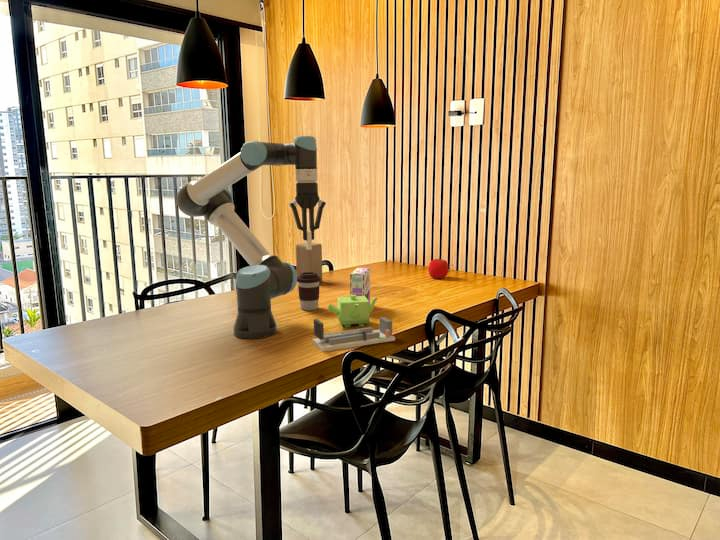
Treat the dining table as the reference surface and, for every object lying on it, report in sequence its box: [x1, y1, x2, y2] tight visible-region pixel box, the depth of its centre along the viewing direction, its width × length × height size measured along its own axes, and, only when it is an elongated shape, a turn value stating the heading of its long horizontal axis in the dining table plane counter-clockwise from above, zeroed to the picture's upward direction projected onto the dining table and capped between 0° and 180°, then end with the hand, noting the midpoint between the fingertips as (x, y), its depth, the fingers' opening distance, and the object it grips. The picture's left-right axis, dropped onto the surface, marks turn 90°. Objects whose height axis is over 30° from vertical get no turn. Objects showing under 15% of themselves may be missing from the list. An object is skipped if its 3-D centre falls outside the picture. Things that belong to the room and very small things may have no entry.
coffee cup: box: [297, 272, 322, 311], centre depth 215 cm, size 10×10×15 cm
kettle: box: [327, 295, 381, 328], centre depth 193 cm, size 15×14×11 cm
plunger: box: [313, 318, 366, 343], centre depth 170 cm, size 16×8×7 cm, turn 114°
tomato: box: [428, 258, 450, 280], centre depth 274 cm, size 10×11×11 cm
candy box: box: [349, 267, 371, 305], centre depth 213 cm, size 14×6×16 cm, turn 168°
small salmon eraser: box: [385, 329, 390, 337], centre depth 174 cm, size 1×1×2 cm
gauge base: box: [312, 316, 396, 352], centre depth 174 cm, size 26×10×6 cm, turn 114°
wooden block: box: [295, 242, 323, 283], centre depth 266 cm, size 10×10×20 cm
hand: (309, 249), depth 184 cm, fingers closed
